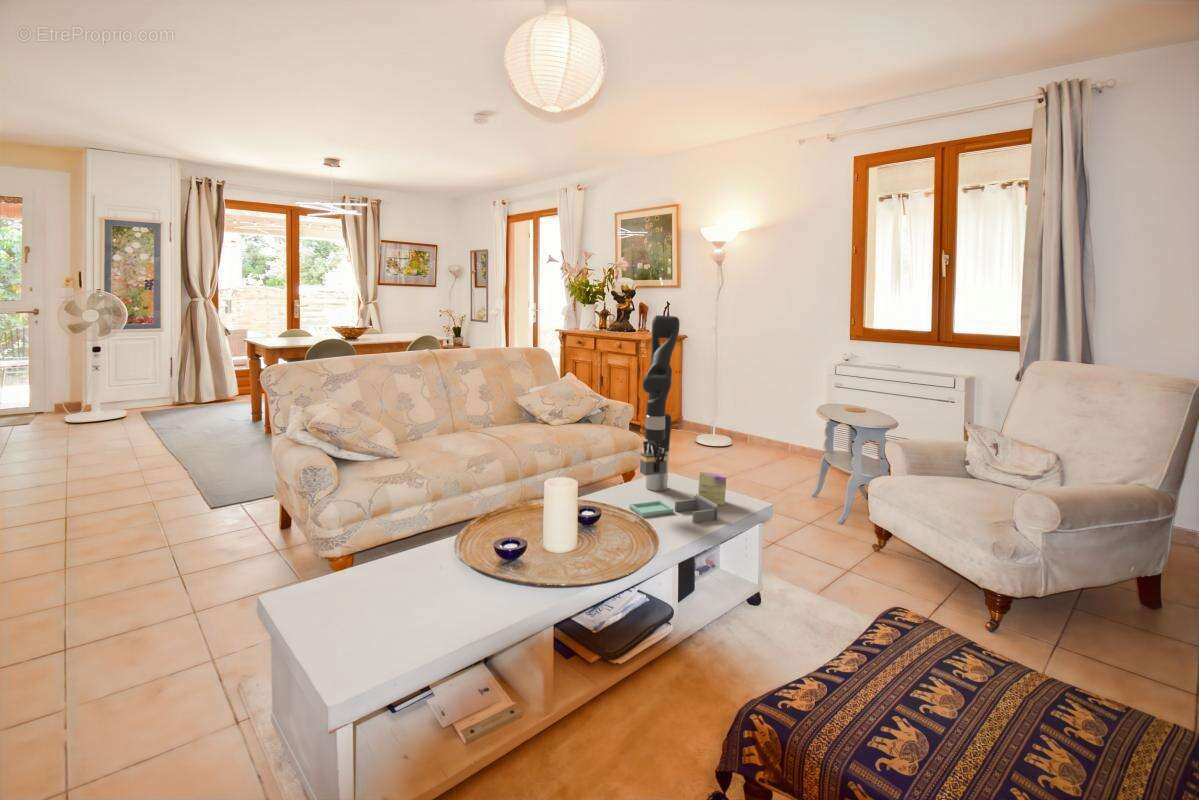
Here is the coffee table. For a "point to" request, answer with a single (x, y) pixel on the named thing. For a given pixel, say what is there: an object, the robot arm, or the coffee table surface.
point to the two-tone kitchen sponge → (651, 464)
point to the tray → (651, 508)
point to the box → (713, 487)
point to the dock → (698, 508)
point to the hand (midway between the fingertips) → (653, 470)
